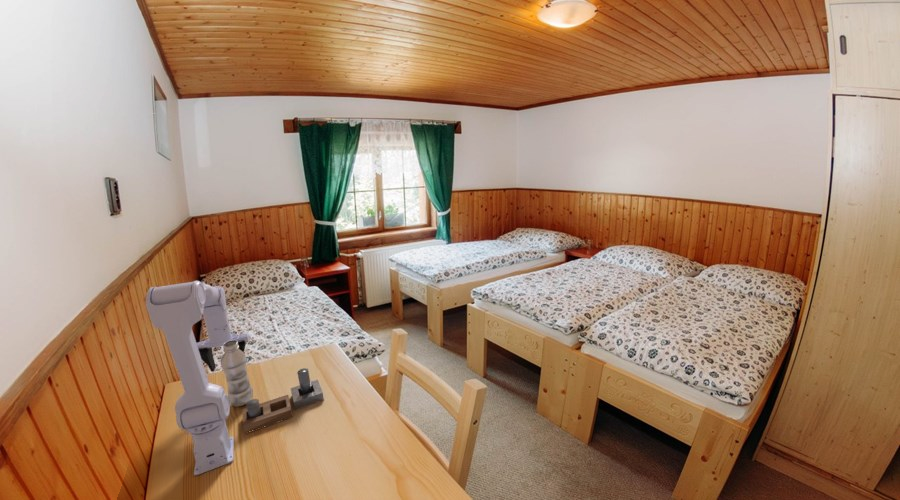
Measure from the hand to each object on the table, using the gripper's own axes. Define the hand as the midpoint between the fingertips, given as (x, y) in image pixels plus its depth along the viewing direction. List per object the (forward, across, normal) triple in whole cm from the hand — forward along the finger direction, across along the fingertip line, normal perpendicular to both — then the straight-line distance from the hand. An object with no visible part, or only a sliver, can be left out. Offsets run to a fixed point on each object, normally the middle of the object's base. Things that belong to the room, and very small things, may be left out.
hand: (227, 367), depth 114 cm
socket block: (+10, -22, +10) cm, 26 cm away
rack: (+10, -12, +15) cm, 22 cm away
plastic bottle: (+10, -3, +4) cm, 11 cm away
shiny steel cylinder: (+10, -22, +10) cm, 26 cm away
